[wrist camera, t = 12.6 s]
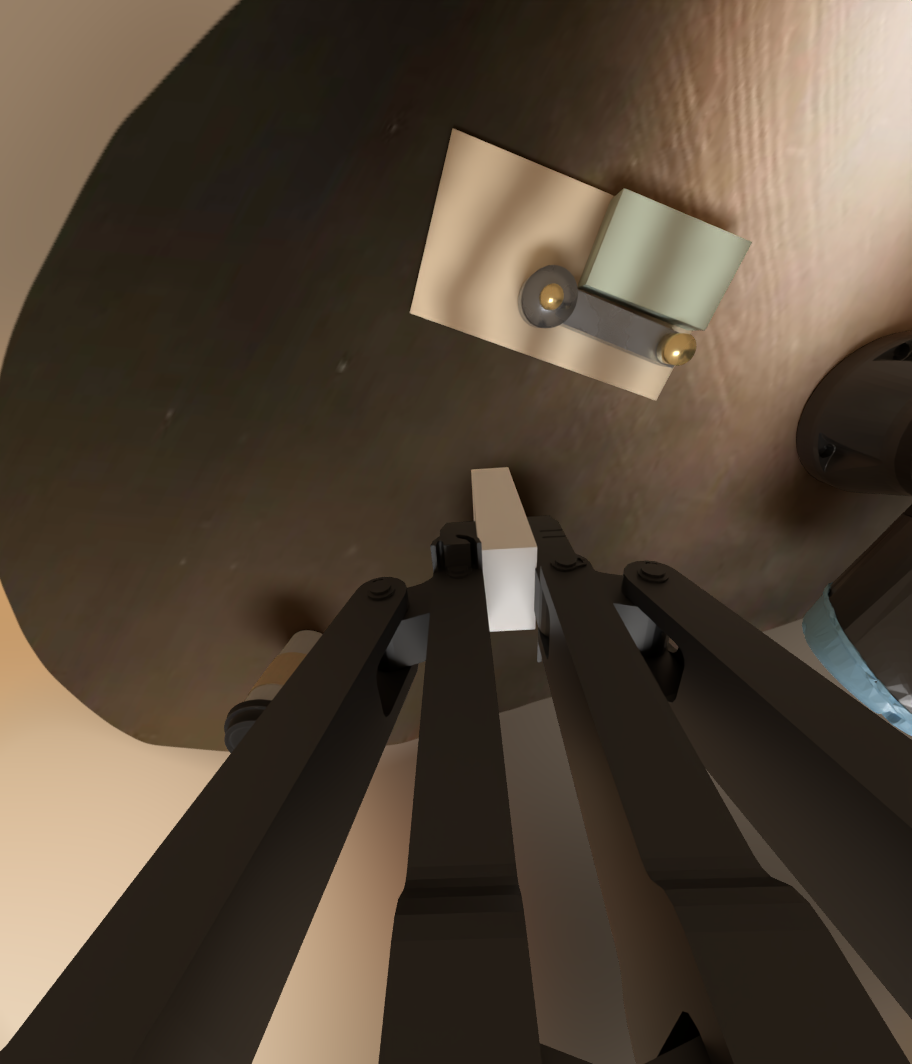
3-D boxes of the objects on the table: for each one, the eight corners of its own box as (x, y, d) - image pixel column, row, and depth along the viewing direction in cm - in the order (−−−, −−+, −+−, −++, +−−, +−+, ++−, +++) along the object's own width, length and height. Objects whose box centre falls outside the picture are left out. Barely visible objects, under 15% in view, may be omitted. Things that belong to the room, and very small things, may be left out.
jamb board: (731, 248, 34) (760, 239, 31) (652, 399, 40) (670, 405, 37) (452, 132, 31) (451, 108, 28) (410, 313, 37) (405, 311, 34)
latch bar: (509, 317, 36) (515, 316, 32) (529, 262, 34) (538, 253, 30) (655, 376, 38) (678, 381, 34) (681, 327, 36) (709, 326, 32)
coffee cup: (355, 664, 57) (321, 767, 44) (294, 675, 58) (244, 779, 45) (328, 612, 53) (282, 708, 39) (264, 626, 54) (199, 723, 41)
